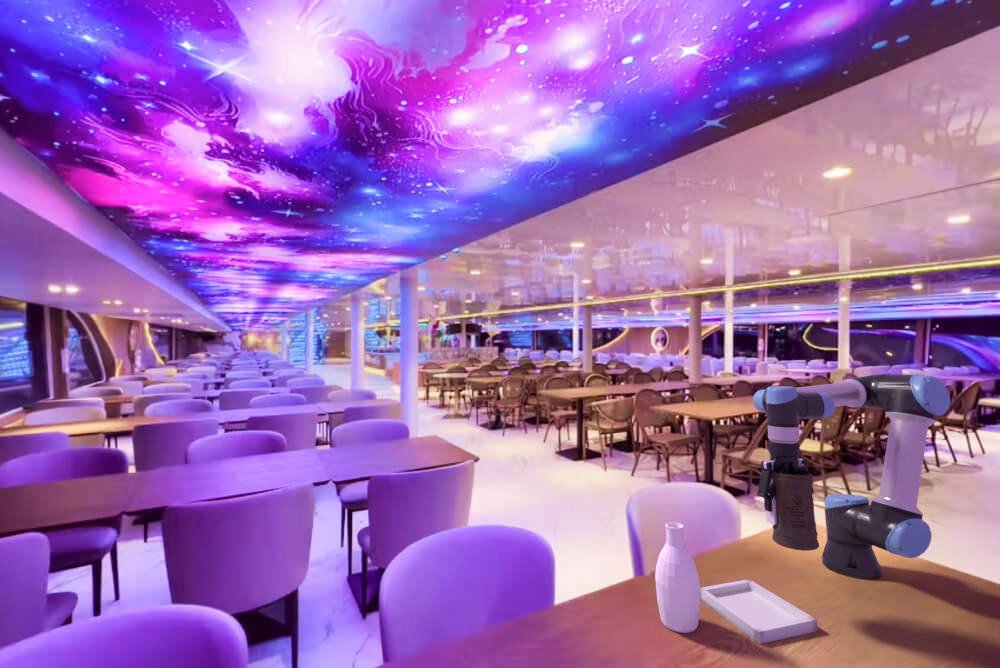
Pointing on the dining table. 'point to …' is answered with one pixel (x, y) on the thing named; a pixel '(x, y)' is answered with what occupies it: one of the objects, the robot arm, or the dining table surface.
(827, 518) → the robot arm
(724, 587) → the tray
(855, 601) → the dining table surface
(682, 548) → the bottle
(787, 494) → the beer stein
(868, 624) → the dining table surface
